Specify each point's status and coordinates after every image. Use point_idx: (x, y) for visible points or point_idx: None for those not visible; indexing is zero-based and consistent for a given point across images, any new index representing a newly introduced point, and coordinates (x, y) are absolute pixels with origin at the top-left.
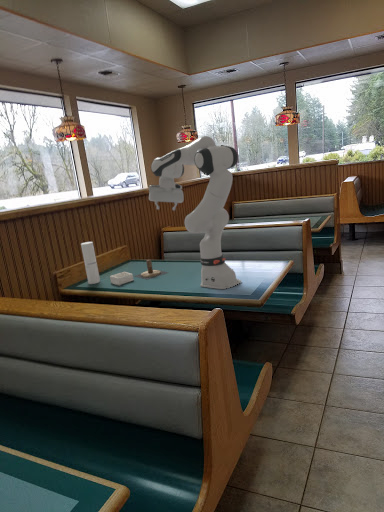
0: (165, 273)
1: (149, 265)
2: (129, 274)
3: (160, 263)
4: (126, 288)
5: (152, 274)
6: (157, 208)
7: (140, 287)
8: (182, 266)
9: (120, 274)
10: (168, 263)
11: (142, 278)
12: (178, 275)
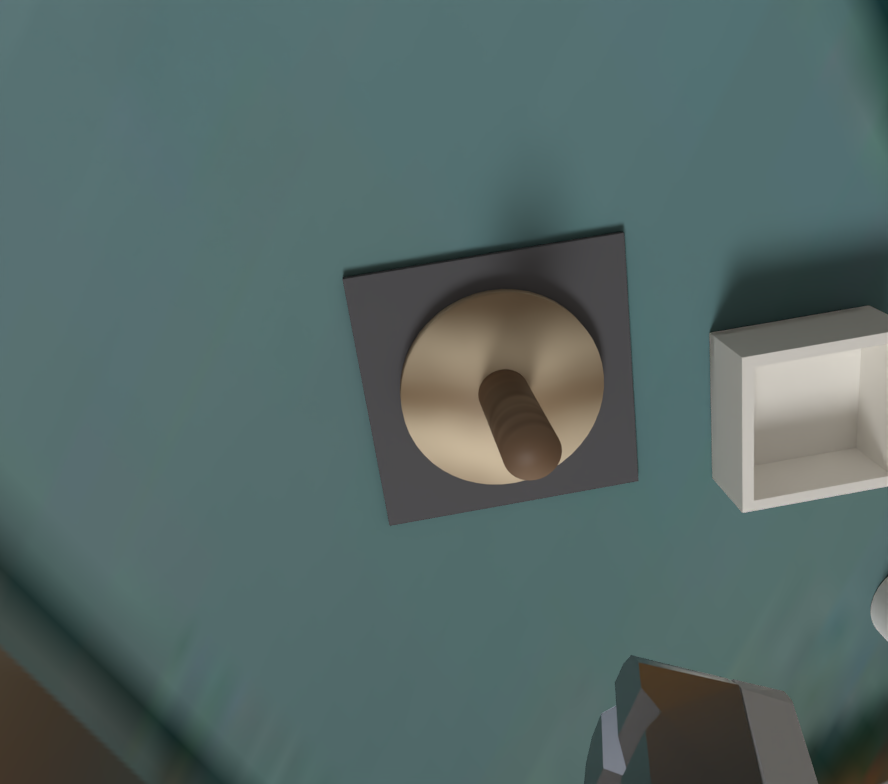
0: (382, 281)
1: (532, 404)
2: (773, 360)
3: (237, 700)
4: (880, 145)
5: (522, 315)
6: (771, 691)
7: (789, 41)
8: (109, 403)
9: (788, 486)
10: (175, 637)
11: (627, 319)
12: (306, 91)
